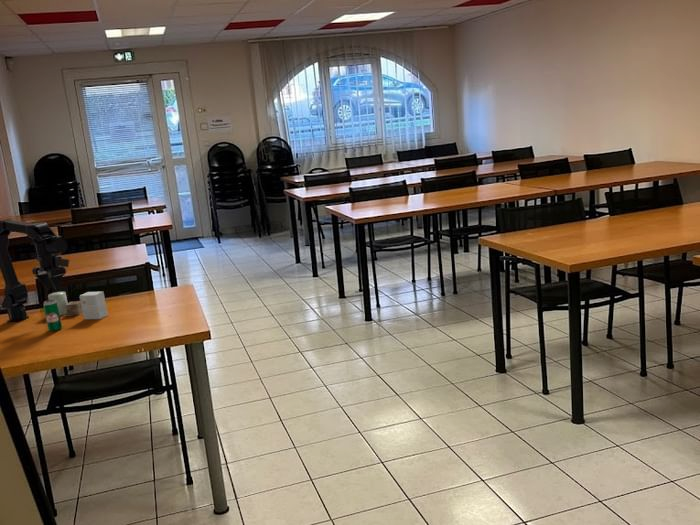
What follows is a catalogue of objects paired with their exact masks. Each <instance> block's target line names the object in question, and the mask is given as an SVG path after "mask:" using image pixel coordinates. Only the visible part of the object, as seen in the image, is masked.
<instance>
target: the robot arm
mask: <svg viewBox="0 0 700 525" xmlns="http://www.w3.org/2000/svg"><path fill="white" fill-rule="evenodd" d="M12 232H13V233H20V234H25V235H26V237H28V238H31V239H32V241H31V242H30V245H34V246H35V250H36V251H35V252H36V254H37V255H36V256H37V257H36V258H35V259H36V261H38V264H39V265H38V266H33V268H32V269H31V271H32V275H34V277H36V279H38V281H39V282H40V283H41V284H42V285H43V287H44V288H45V289H46V291H50V290H51V285H52V286H53V287H54V290H55V292H61V283H62V279H63V277H64V276H65V275H66V274H67V268H69V265H70V259H66V258H63V257H62V256H59V255H58V256H57V255H55V254H64V253H65V252H67V250H68V246H69V244H68V243H67V241H66V240H65V239H64V238H63V237H62V235H57V234H56V233H55V232H54V231H53V229H52V228H51V227H50V226H49V225H48V223H47V222H35V223H31V222H29V223H28V222H24V221H18V220H12V219H10V218H7V219H3V220H0V272H1V276H2V279H3V280H4V284H5V285H4V290H3V293H4V298H3V300H2V302H1V304H0V305H1V307H2V309H5V310H6V312H7V315H8V319H7V320H6V322H11V323H12V322H13V321H18V322H22V321H23V320H22V319H24V320H25V318H26V319H28V318H30V315H28V314H27V309H26V307H25V304H27V303H28V297H29V295H28V293H29V291H28V289H27V286H26V284H25V283H21V281H19V280H18V277H17V273H16V270H15V268H14V265H13V262H12V259H11V255H10V253H9V250H8V248H9V244H10V240H9V236H10V235H11V233H12ZM50 284H51V285H50ZM27 317H28V318H27Z"/></svg>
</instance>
